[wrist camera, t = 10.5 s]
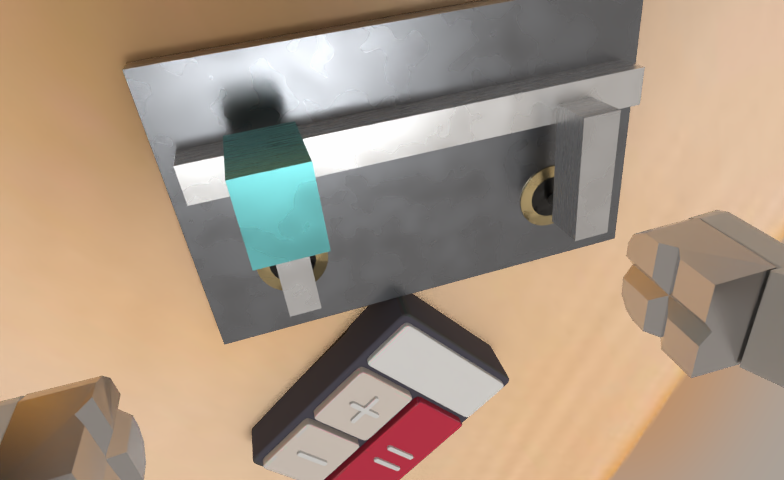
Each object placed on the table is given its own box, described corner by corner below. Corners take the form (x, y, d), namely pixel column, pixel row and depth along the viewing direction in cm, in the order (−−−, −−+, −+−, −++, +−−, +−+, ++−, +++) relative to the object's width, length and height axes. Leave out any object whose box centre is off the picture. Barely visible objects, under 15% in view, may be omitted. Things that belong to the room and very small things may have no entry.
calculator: (250, 473, 35) (409, 320, 32) (248, 420, 39) (391, 278, 35) (370, 513, 41) (517, 388, 37) (359, 465, 44) (492, 346, 41)
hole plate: (627, -25, 29) (711, -16, 24) (601, 227, 38) (659, 273, 33) (126, 62, 25) (105, 96, 20) (224, 328, 33) (226, 398, 28)
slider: (289, 109, 26) (312, 161, 20) (323, 264, 31) (349, 341, 25) (221, 122, 25) (225, 180, 20) (267, 278, 30) (280, 361, 24)
